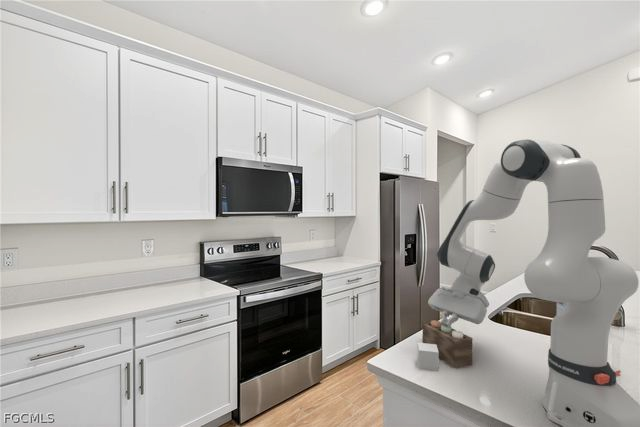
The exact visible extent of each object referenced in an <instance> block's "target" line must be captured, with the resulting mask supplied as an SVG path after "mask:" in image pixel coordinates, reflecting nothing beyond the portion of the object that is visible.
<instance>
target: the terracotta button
mask: <svg viewBox="0 0 640 427" xmlns="http://www.w3.org/2000/svg"><path fill="white" fill-rule="evenodd" d="M430 323H431V326H432V327H434V328H439V327H441V321H440V320H435V319H432V320H430Z"/></svg>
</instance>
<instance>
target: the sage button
mask: <svg viewBox="0 0 640 427" xmlns="http://www.w3.org/2000/svg"><path fill="white" fill-rule="evenodd" d="M452 329H453V327H452V325H451V326H450V327H448V326H446V325H441V331H442V332H444V333H452Z"/></svg>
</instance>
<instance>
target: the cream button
mask: <svg viewBox="0 0 640 427" xmlns="http://www.w3.org/2000/svg"><path fill="white" fill-rule="evenodd" d="M463 334H464V333H463V332H462V331H460V330H457V331H452V337H453V338H455V339H457V340H458V339H463Z"/></svg>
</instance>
